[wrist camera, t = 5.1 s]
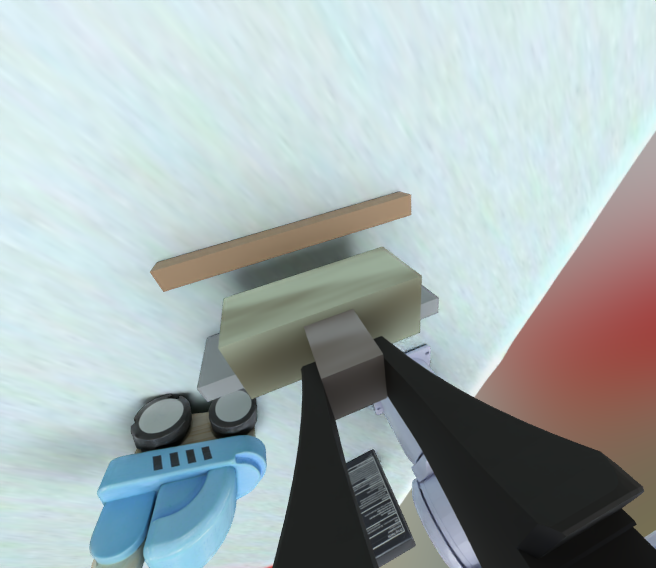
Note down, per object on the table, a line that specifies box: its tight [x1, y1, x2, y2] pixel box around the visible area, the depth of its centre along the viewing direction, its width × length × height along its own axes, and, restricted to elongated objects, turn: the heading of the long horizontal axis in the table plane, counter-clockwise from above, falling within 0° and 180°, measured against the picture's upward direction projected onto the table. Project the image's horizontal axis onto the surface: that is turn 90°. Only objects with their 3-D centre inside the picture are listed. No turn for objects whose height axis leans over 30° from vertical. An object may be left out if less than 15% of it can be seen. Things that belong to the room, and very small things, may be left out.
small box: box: [346, 450, 416, 567], centre depth 35 cm, size 11×6×10 cm, turn 108°
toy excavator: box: [89, 388, 267, 568], centre depth 16 cm, size 9×17×17 cm, turn 80°
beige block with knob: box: [218, 247, 422, 420], centre depth 13 cm, size 4×10×7 cm, turn 101°
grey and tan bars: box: [150, 192, 439, 402], centre depth 17 cm, size 9×18×5 cm, turn 102°
